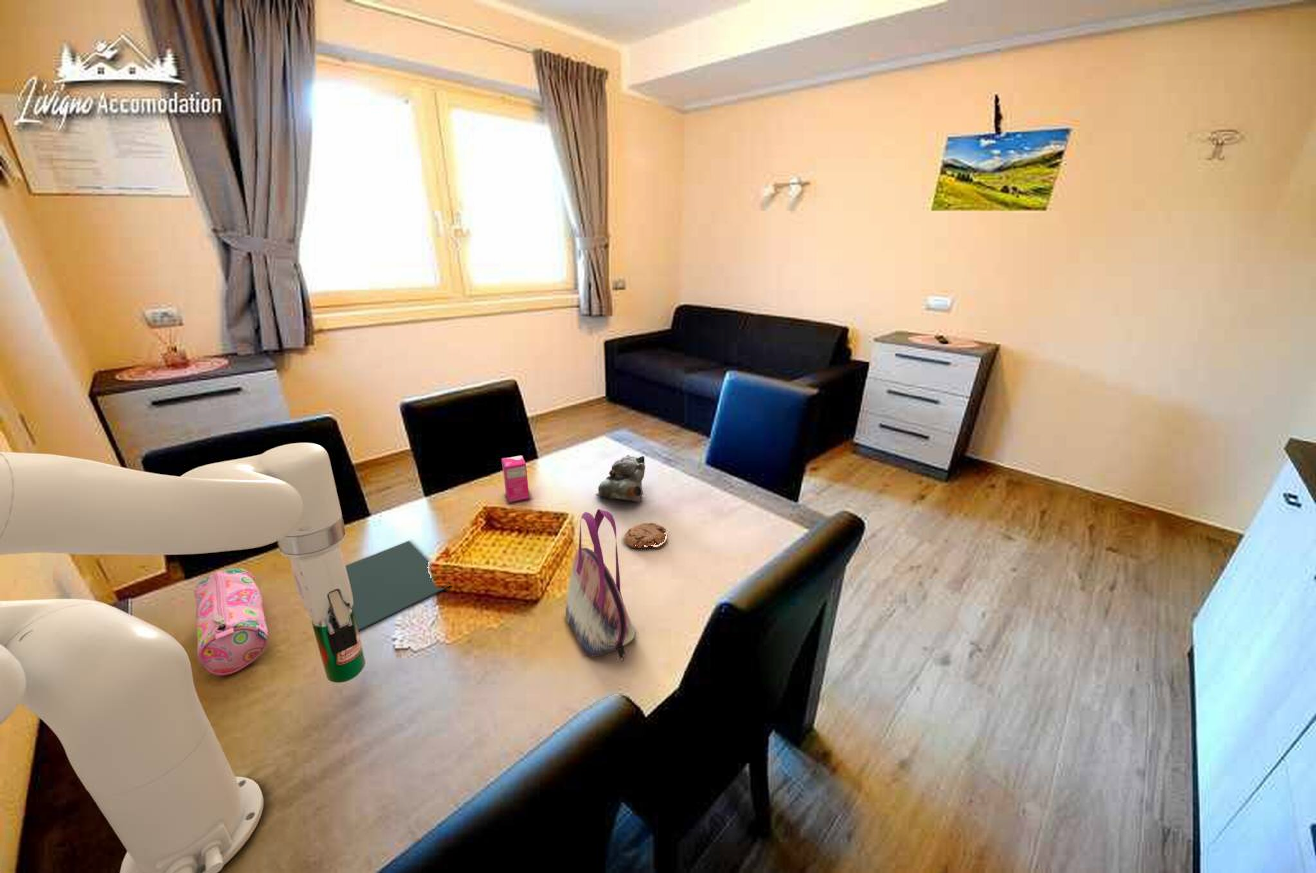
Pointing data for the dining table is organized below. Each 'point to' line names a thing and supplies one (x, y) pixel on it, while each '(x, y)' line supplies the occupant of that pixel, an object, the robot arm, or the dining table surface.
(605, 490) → the lucky cat figurine
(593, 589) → the handbag
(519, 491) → the supplement box
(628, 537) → the cookie
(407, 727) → the dining table surface
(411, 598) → the place mat
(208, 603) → the pencil case
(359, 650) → the soda can
